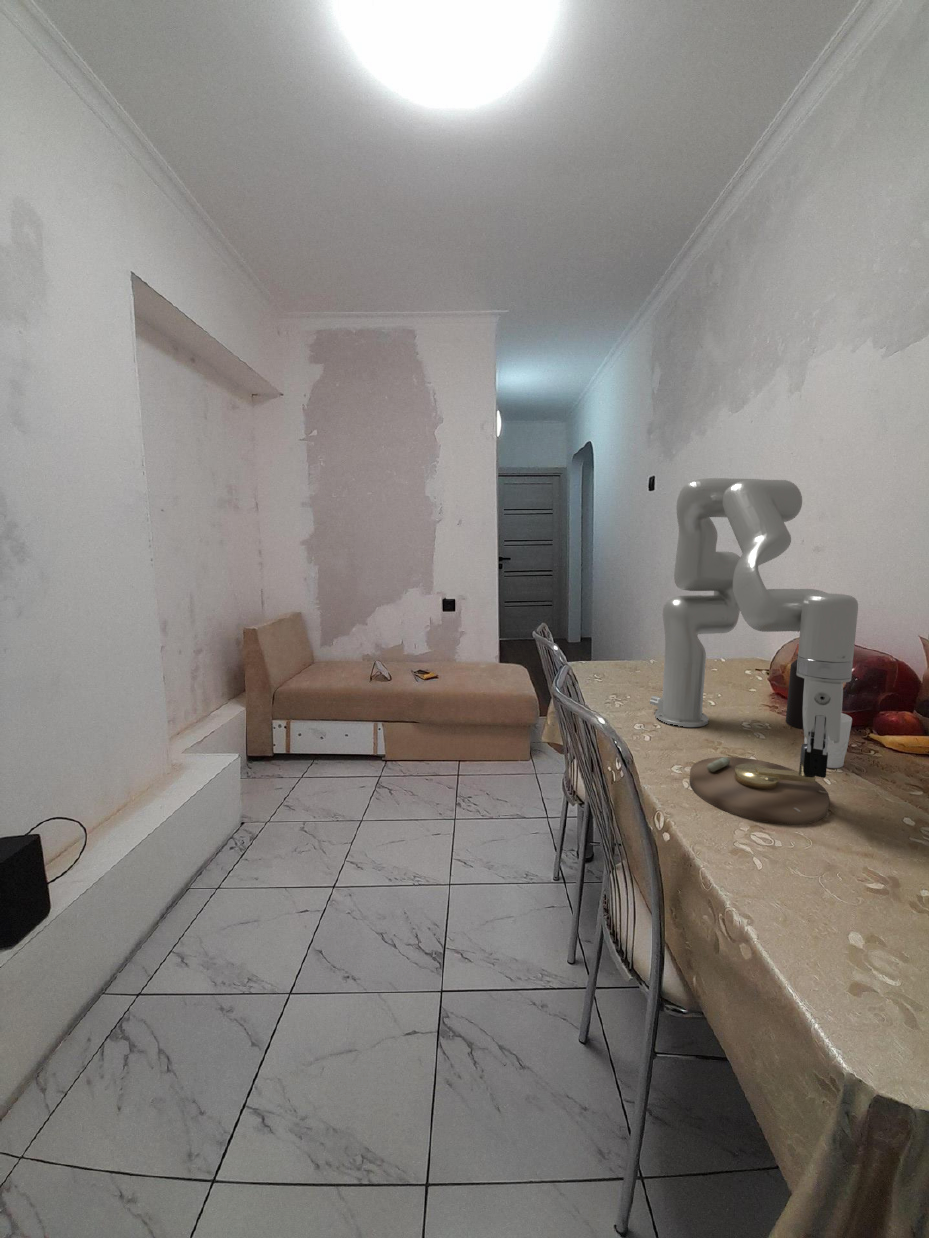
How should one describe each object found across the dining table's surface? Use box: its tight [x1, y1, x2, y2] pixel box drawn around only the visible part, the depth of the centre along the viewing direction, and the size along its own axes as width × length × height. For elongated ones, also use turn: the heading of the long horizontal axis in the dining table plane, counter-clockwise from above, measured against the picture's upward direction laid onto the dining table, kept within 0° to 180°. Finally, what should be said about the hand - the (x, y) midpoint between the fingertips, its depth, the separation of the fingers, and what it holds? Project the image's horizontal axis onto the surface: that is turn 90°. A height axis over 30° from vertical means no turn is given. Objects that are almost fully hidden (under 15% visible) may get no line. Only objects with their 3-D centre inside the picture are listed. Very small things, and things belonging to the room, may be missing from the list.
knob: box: [734, 743, 816, 789], centre depth 94 cm, size 13×7×7 cm, turn 76°
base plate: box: [689, 756, 830, 825], centre depth 96 cm, size 22×22×4 cm
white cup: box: [803, 712, 853, 769], centre depth 108 cm, size 8×8×10 cm
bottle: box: [785, 643, 805, 730], centre depth 129 cm, size 7×7×20 cm
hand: (814, 774), depth 90 cm, fingers closed
